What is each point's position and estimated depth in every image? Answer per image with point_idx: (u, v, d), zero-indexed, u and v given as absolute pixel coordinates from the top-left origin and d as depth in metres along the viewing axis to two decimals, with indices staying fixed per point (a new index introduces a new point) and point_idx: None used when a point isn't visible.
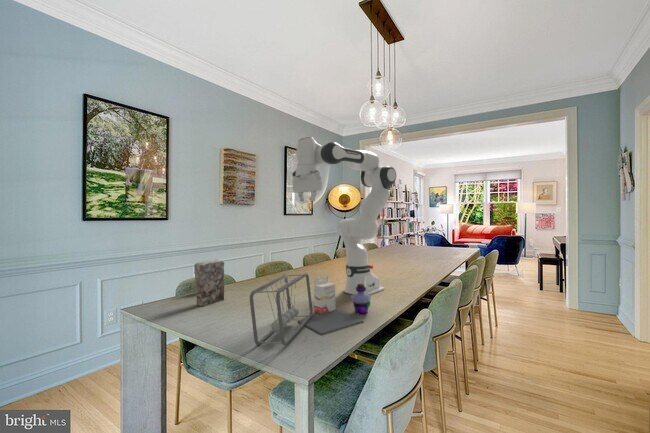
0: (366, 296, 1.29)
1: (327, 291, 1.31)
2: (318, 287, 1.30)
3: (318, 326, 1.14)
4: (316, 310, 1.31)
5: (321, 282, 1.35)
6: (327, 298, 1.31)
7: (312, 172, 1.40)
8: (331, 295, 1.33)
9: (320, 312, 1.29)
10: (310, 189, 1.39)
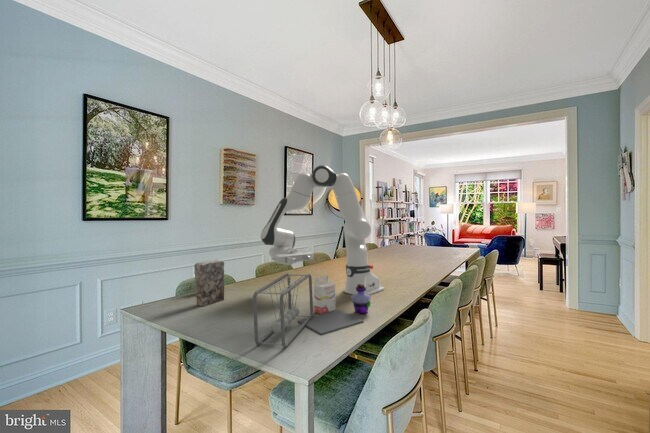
0: (366, 296, 1.29)
1: (328, 291, 1.31)
2: (318, 287, 1.30)
3: (318, 326, 1.14)
4: (316, 310, 1.31)
5: (321, 282, 1.35)
6: (327, 298, 1.31)
7: None
8: (331, 295, 1.33)
9: (320, 312, 1.29)
10: (286, 262, 1.48)
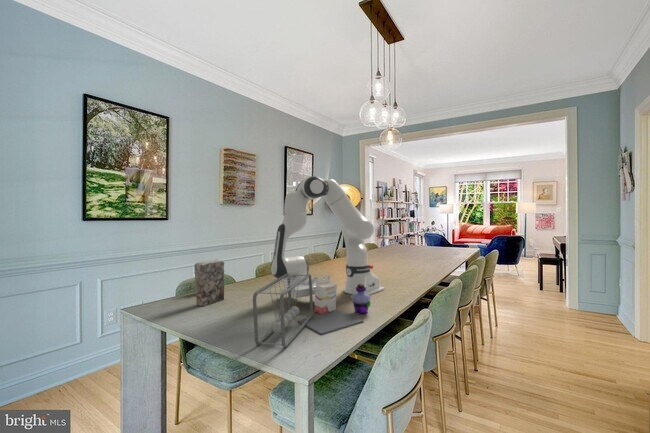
0: (366, 296, 1.29)
1: (329, 292, 1.30)
2: (319, 287, 1.29)
3: (318, 326, 1.14)
4: (316, 309, 1.31)
5: (323, 282, 1.34)
6: (328, 298, 1.31)
7: None
8: (332, 295, 1.32)
9: (320, 312, 1.29)
10: None
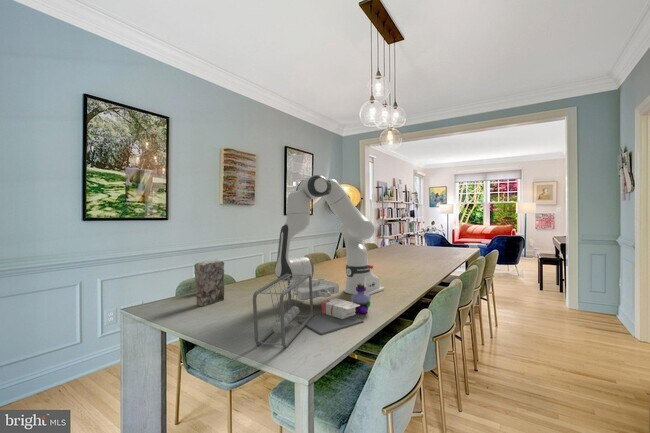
0: (366, 296, 1.29)
1: None
2: (340, 314, 1.21)
3: (318, 326, 1.14)
4: (322, 305, 1.28)
5: None
6: None
7: None
8: None
9: (322, 311, 1.28)
10: None
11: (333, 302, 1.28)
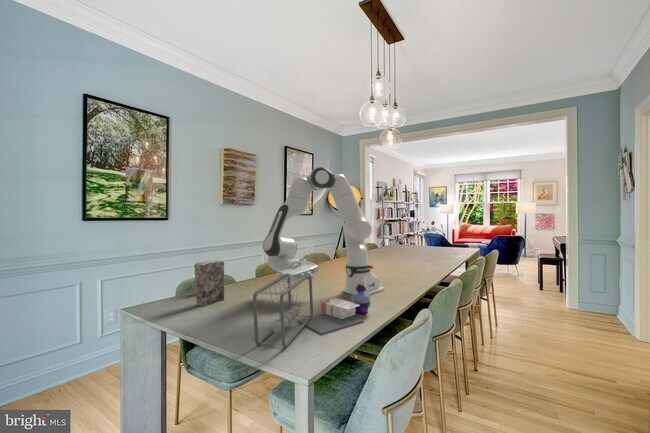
0: (366, 296, 1.29)
1: None
2: (340, 314, 1.21)
3: (318, 326, 1.14)
4: (322, 306, 1.28)
5: None
6: None
7: None
8: None
9: (322, 311, 1.28)
10: None
11: (333, 302, 1.27)
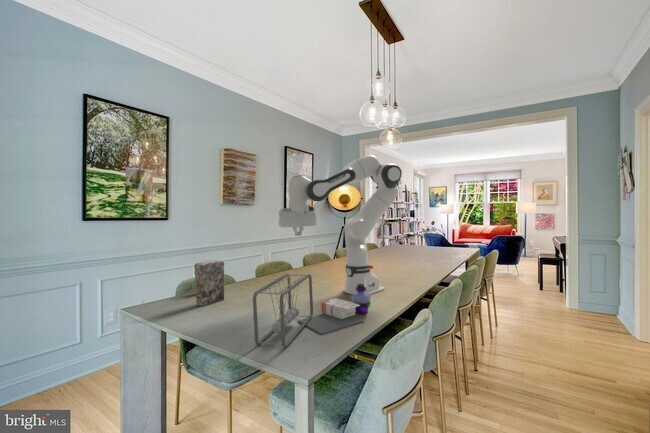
0: (366, 296, 1.29)
1: None
2: (340, 314, 1.21)
3: (318, 326, 1.14)
4: (322, 306, 1.28)
5: None
6: None
7: None
8: None
9: (322, 311, 1.28)
10: None
11: (333, 302, 1.27)
